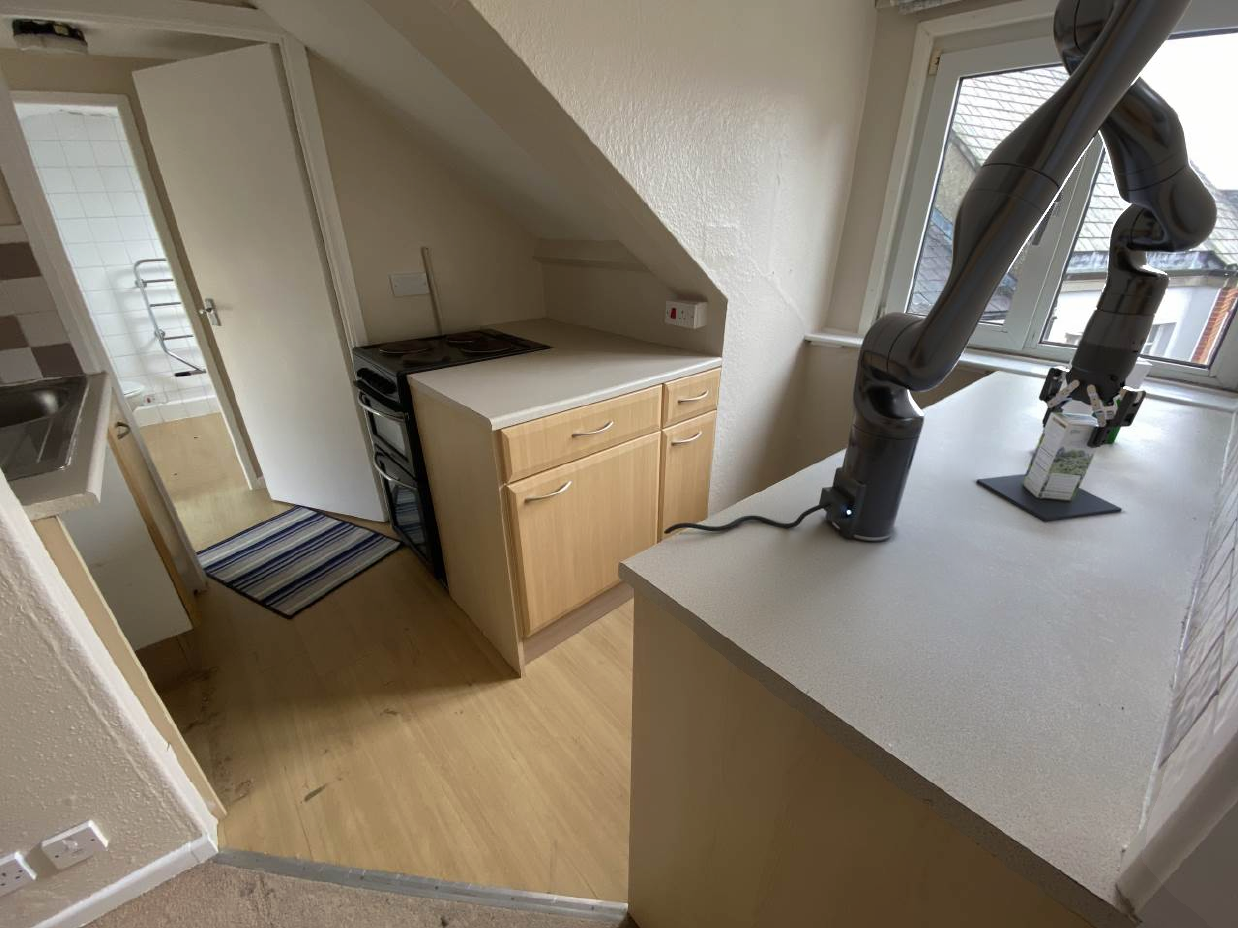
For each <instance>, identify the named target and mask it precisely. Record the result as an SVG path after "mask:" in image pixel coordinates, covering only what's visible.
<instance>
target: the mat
mask: <svg viewBox="0 0 1238 928" xmlns="http://www.w3.org/2000/svg"><path fill="white" fill-rule="evenodd" d="M1025 474H1026V473H1024V474H1014V475H1006V476H997V477H996V476H995V477H987V478H979V479H978V478H977V479H976V483H977V484H979V485H980V486H983V487H984V488H986V489H987V490H990V491H991V492H993V493H995V494H997V495H998V496H999V497H1001V498H1003V499H1005V500H1007V501H1008V502H1010V503H1011V504H1013V505H1015V506H1017V507H1019V508H1020V509H1022V510H1024V511H1026V512H1027V513H1029V514H1031V515H1033V516H1034V517H1036V518H1037V519H1040V520H1041V521H1043V522H1053V521H1058V520H1066V519H1067V520H1068V519H1075V518H1082V517H1083V518H1084V517H1089V516H1090V517H1091V516H1097V515H1104V514H1105V515H1106V514H1113V513H1118V512H1120V513H1121V512H1122V509H1123V508H1122V507H1120V506H1118V505H1115V504H1114V503H1111V502H1110V501H1107V500H1105V499H1103V498H1101V497H1099V496H1097V495H1096V494H1093V493H1091V492H1089V491H1086V490H1085V489H1083V488H1080V487H1079V488H1078V490H1077V493H1076V495H1075V497H1074V499H1073V501H1062V500H1052V499H1042V498H1037V497H1036V496H1035V495H1033V494H1032V493H1031V492H1030V491H1029V490H1028V489H1027V488H1026V487H1025V486H1024V485H1023V483H1022V482H1023V479H1024V477H1025Z"/></svg>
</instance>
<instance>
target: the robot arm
mask: <svg viewBox="0 0 1238 928" xmlns="http://www.w3.org/2000/svg"><path fill="white" fill-rule="evenodd" d="M1192 1H1193V0H1058V1H1057V4H1056V6H1055V10H1054V13H1053V15H1052V16H1053V17H1052V26H1051V30H1052V31H1051V32H1052V39H1053V44H1054V48H1055V51H1056V53H1057V55H1058V57H1059V59H1060V62H1061V64H1062V66H1063V68H1064V70H1065V71H1066V73H1067V74H1068V79H1067V80H1066V81H1065V82H1064V83H1063V84H1062V85H1061V86H1060V87H1059V88H1058V89H1057V90H1056V91H1055V92H1054V93H1053V94H1051V96H1050V97H1049V98H1048V99H1047V100H1045V101H1044V102H1043V103H1042V104H1041V105H1040V106H1039V107H1037V108H1036V109H1035V110H1034V111H1033V112H1032V113H1031V114H1029V116H1027V117H1026V118H1025V119H1024V120H1023V121H1022V122H1021V123H1020V124H1018V125H1017V126H1016V127H1015V128H1014V129H1013V130H1012V131H1011V132H1010V133H1009V134H1007V135H1006V137H1004V138H1003V139H1002V140H1001V141H1000V142H999V143H998V144H997V146H995V148H994V149H992V151H991V152H990V153H989V154H988V156H987V158H986V159H985V160H984V162H983V163H982V165H981V166H980V168H979V170H978V171H977V173H976V175H975V176H974V177H973V179H972V181H971V183H970V185H969V187H968V188H967V190H966V192H964V194H963V197H961V198H962V199H961V200H960V202H959V204H958V206H957V208H956V211H955V214H954V219H953V224H952V235H951V259H950V260H951V261H950V268H949V272H948V276H947V280H945V284H944V286H943V288H942V289H941V292H940V293H939V295H938V297H937V299H936V301H935V302H934V304H933V305H932V307H931V309H930V310H929V312H928V313H927V314H926V316H925V317H923V316H918V315H915V314H910V313H905V312H899V311H898V312H897V311H895V312H889V313H886V314H883V315H882V316H880V317H878V319H876V320H875V321H873V324H871V326H870V327H869V329H868V330H867V331H866V333H865V336H864V337H863V340H862V342H861V345H860V348H859V353H858V357H857V364H856V368H855V369H856V370H855V375H854V380H853V381H854V383H853V387H852V395H851V404H852V410H853V417H852V423H851V426H850V431H849V434H848V435H849V436H848V441H847V445H846V449H845V452H844V457H843V462H842V466H839V467H836V469H835V471H834V477H833V480H832V481H833V482H832V485H831V486H826V487H821V492H820V498H819V502H818V505H815V506H812V507H810V508H809V509H807V510H805V511H803V512H802V513H800V515H799V516H798V517H797V518H796V520H794V521H793V522H789V523H784V522H779V521H775V520H772V519H770V518H767V517H764V516H761V515H752V514H751V515H745V516H741V517H739V518H737V519H735V520H733V521H731V522H729V523H728V524H724V525H719V526H714V525H713V526H712V525H705V524H700V523H693V522H681V523H676V524H673V525H671V526H669V527H667V528H666V529H665V530H664V531H663V534H665V535H669V534H671V533H672V532H674V531H676V530H679V529H684V528H688V529H695V530H700V531H707V532H723V531H726V530H730V529H732V528H734V527H736V526H737V525H739V524H741V523H743V522H748V521H759V522H762V523H765V524H768V525H771V526H774V527H777V528H783V529H792V528H795V527H797V526H799V525H800V524H801V523H802V522H803V520H804V519H805V518H806V517H807V516H810V515H811V514H813V513H815V512H817V511H820V510H823V511H825V512H826V513H825V517H824V519H825V520H826V521H827V522H828V523H829V524H831V526H833V528H834V529H835V530H837V531H838V533H840V535H842V536H843V537H844V538H845V539H855V540H859V541H863V542H881V541H885V540H888V539H891V537H892V535H893V533H894V530H895V529H894V527H895V524H896V521H897V517H898V513H899V510H900V506H901V503H902V500H903V496H904V492H905V490H906V485H907V482H908V478H909V476H910V471H911V469H912V466H913V462H914V459H915V455H916V452H917V448H918V444H919V441H920V437H921V435H922V430H923V427H924V424H925V415H924V413H923V410H922V409H921V408H920V407H919V406H918V404H917V403H916V401H915V400H914V399H913V397H912V395H911V392H916V393H925V392H928V391H931V390H933V389H934V388H936V387H938V386H939V385H940V384H941V383H942V382H943V381H945V379H946V378H947V377H948V376H949V375H950V374H951V372H952V371H953V370H954V369H955V367H956V365H957V364H958V362H959V360H960V359H961V357H962V356H963V353H964V352H965V350H966V348H967V346H968V345H969V343H970V341H971V338H972V336H973V334H974V333H975V331H976V329H977V328H978V325H979V323H980V321H981V320H982V318H983V316H984V313H985V311H986V310H987V308H988V306H989V304H990V302H991V301H992V298H993V297H994V295H995V294H996V292H997V290H998V288H999V287H1000V285H1001V283H1002V281H1003V280H1004V279H1005V277H1006V275H1007V274H1008V272H1009V270H1010V268H1011V267H1012V265H1013V264H1014V262H1015V261H1016V259H1017V257H1018V256H1019V254H1020V253H1021V251H1022V249H1023V247H1024V246H1025V245H1026V243H1027V242H1028V240H1029V239H1030V237H1031V236H1032V234H1033V233H1034V231H1035V230H1036V229H1037V227H1038V226H1039V224H1040V223H1041V221H1042V220H1043V219H1044V217H1045V215H1046V214H1047V212H1048V211H1049V209H1050V208H1051V206H1052V205H1053V203H1054V201H1055V200H1056V199H1057V197H1058V195H1059V193H1060V192H1061V190H1062V189H1063V187H1064V185H1065V184H1066V182H1067V180H1068V178H1069V177H1070V176H1071V174H1072V172H1073V170H1074V168H1075V167H1076V166H1077V164H1078V163H1079V161H1080V159H1081V157H1083V155H1084V154H1085V151H1086V150H1087V149H1088V148H1089V146H1090V145H1091V143H1092V142H1093V140H1094V139H1095V137H1096V136H1097V134H1098V133H1099V135H1100V137H1101V139H1102V142H1103V145H1104V148H1105V152H1106V154H1107V157H1108V162H1109V166H1110V170H1111V174H1112V178H1113V182H1114V187H1115V190H1116V194H1117V196H1119V199H1120V200H1121V201H1123V202H1124V203H1128V204H1129V205H1128V206H1126V207H1124V209H1123V210H1122V211H1121V212H1120V213H1119V215H1118V216H1117V217H1116V219H1115V220H1114V222H1113V224H1112V227H1111V231H1110V236H1109V245H1108V259H1107V267H1106V268H1107V269H1106V278H1105V283H1104V285H1103V288H1102V291H1101V293H1100V296H1099V298H1098V300H1097V303H1096V306H1095V308H1094V310H1093V312H1092V314H1091V315H1090V317H1089V318H1088V320H1087V323H1086V325H1085V327H1084V329H1083V332H1082V337H1081V339H1079V342H1078V345H1077V347H1076V350H1075V352H1074V355H1073V357H1072V358H1073V359H1072V358H1071V359H1072V362H1071V365H1072V368H1071V369H1070V370H1067V368H1068V367H1066V366H1054V367H1050V368H1049V369H1048V372H1047V375H1046V377H1045V380H1044V382H1043V385H1042V387H1041V391H1040V393H1039V396H1038V400H1039V401H1040V402H1044V403H1045V404H1046V407H1047V408H1046V410H1045V413H1044V416H1043V418H1042V423H1041V424H1042V429H1043V428H1045V426H1046V423H1047V421H1048V419H1049V416H1050V414H1051V412H1057V413H1062V412H1063V410H1064V409H1063V408H1061V407H1063V406H1065V405H1066V404H1067V403H1069V402H1070V401H1072V400H1075V401H1082V402H1083V403H1085V404H1087V405H1090V406H1091V405H1092V410H1093V412H1094V413H1095V414H1096V417H1097V422H1098V425H1095V427H1094V430H1093V432H1092V434H1091V436H1090V438H1089V441H1088V443H1087V446H1088V447H1091V448H1097V447H1098V448H1101V447H1102V446H1105V445H1106V443H1107V439H1108V437H1109V436H1110V433H1111V431H1112V429H1113V428H1117V427H1121V428H1127V427H1131V426H1132V424H1133V422H1134V420H1135V418H1136V416H1137V414H1138V413H1139V411H1140V408H1141V406H1142V404H1143V402H1144V400H1145V398H1146V396H1147V391H1146V390H1145V389H1139V390H1134V389H1131V388H1128V387H1126V384H1125V381H1126V378H1127V377H1128V376H1129V374H1130V373H1131V372H1132V370H1133V368H1134V365H1135V363H1136V361H1137V359H1138V357H1140V355H1141V352H1142V350H1143V348H1144V346H1145V344H1146V342H1147V339H1148V337H1149V335H1150V333H1151V330H1152V327H1153V323H1154V320H1155V316H1156V314H1157V312H1158V310H1159V308H1160V306H1161V303H1162V301H1163V299H1164V296H1165V295H1166V292H1167V290H1168V288H1169V286H1170V282H1171V277H1170V276H1169V274H1168V273H1165V272H1164V271H1161V270H1158V269H1155V268H1154V267H1153V268H1152V267H1151V266H1149V264H1148V260H1147V253H1159V254H1183V253H1187V252H1190V251H1192V250H1194V249H1196V248H1198V247H1199V246H1201V245H1202V244H1203V243H1204V242H1205V241H1207V239H1209V237H1210V236H1211V234H1212V233H1213V231H1214V229H1215V226H1216V224H1217V219H1218V207H1217V203H1216V201H1215V198H1214V197H1213V194H1212V193H1211V191H1210V190H1209V188H1208V187H1207V185H1206V184H1205V183H1204V181H1203V180H1202V178H1201V177H1200V176H1199V174H1198V173H1197V172H1196V171H1195V169H1194V168H1193V167H1192V166H1191V164H1190V156H1189V151H1188V145H1187V138H1186V132H1185V128H1184V124H1183V122H1182V119H1181V118H1180V116H1179V113H1177V112H1176V110H1175V109H1174V108H1173V107H1172V106H1171V104H1170V103H1169V102H1168V101H1167V100H1166V99H1165V98H1164V97H1162V95H1160V94H1159V93H1158V92H1157V91H1156V90H1154V88H1152V87H1151V86H1150V85H1149V83H1147V82H1146V81H1145V80H1144V79H1143V78H1142V76H1140V75H1141V74H1142V72H1143V71H1144V70H1145V69H1146V67H1147V66H1149V64H1150V63H1151V61H1152V60H1153V59H1154V57H1155V56H1156V55H1157V53H1158V52H1159V51H1160V49H1161V48H1162V47H1163V46H1164V44H1165V42H1167V40H1168V39H1169V37H1170V36H1171V34H1172V33H1173V32H1174V30H1175V29H1176V28H1177V26H1178V25H1179V23H1180V22H1181V21H1182V19H1183V17H1184V16H1185V14H1186V12H1187V10H1188V8H1189V7H1190V5H1191V3H1192ZM1065 379H1066V382H1067V387H1065V388H1064V389H1063V390H1061V391H1060V392H1059V390H1060V388H1061V385H1062V383H1063V381H1064V380H1065ZM910 391H911V392H910ZM1118 395H1121V397H1120V398H1119V400H1120V401H1121V403H1120V405H1119V407H1117V402H1116V396H1118ZM1105 403H1106V407H1104V406H1103V405H1102V404H1105ZM1116 411H1117V412H1116ZM1098 448H1097V449H1098Z"/></svg>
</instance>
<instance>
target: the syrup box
mask: <svg viewBox="0 0 1238 928" xmlns="http://www.w3.org/2000/svg"><path fill="white" fill-rule="evenodd" d="M1095 425H1098V422H1097V419H1096V418H1094V417H1092V416H1090V415H1086V414H1072V413H1057V412H1051V414H1050V416H1049V419H1048V421H1047V423H1046V426H1045V428H1044V431H1043V433H1042V432H1041V434H1042V436H1041V438H1040V437H1039V438H1040V440H1039V439H1038V442H1039V443H1038V442H1037V443H1038V445H1037V444H1036V445H1037V448H1036V450H1035V449H1034V450H1035V453H1034V452H1033V455H1032V457H1031V460H1030V463H1029V465H1028V467H1027V470H1026V472H1025V473H1024V474H1025V477H1024V479H1023V482H1022V483H1023V485H1024V486H1025V487H1026V488H1027V489H1028V490H1029V491H1030V492H1031V493H1032V494H1033V495H1035V496H1036V497H1037V498H1042V499H1052V500H1062V501H1073V499H1074V497H1075V495H1076V493H1077V490H1078V488H1080V486H1081V484H1082V482H1083V479H1084V477H1085V475H1086V473H1087V471H1088V469H1089V467H1090V465H1091V463H1092V460H1093V459H1094V457H1095V454H1096V453H1097V450H1098V448H1099V447H1097V448H1091V447H1088V446H1087V443H1088V441H1089V438H1090V436H1091V434H1092V432H1093V430H1094V427H1095Z"/></svg>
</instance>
